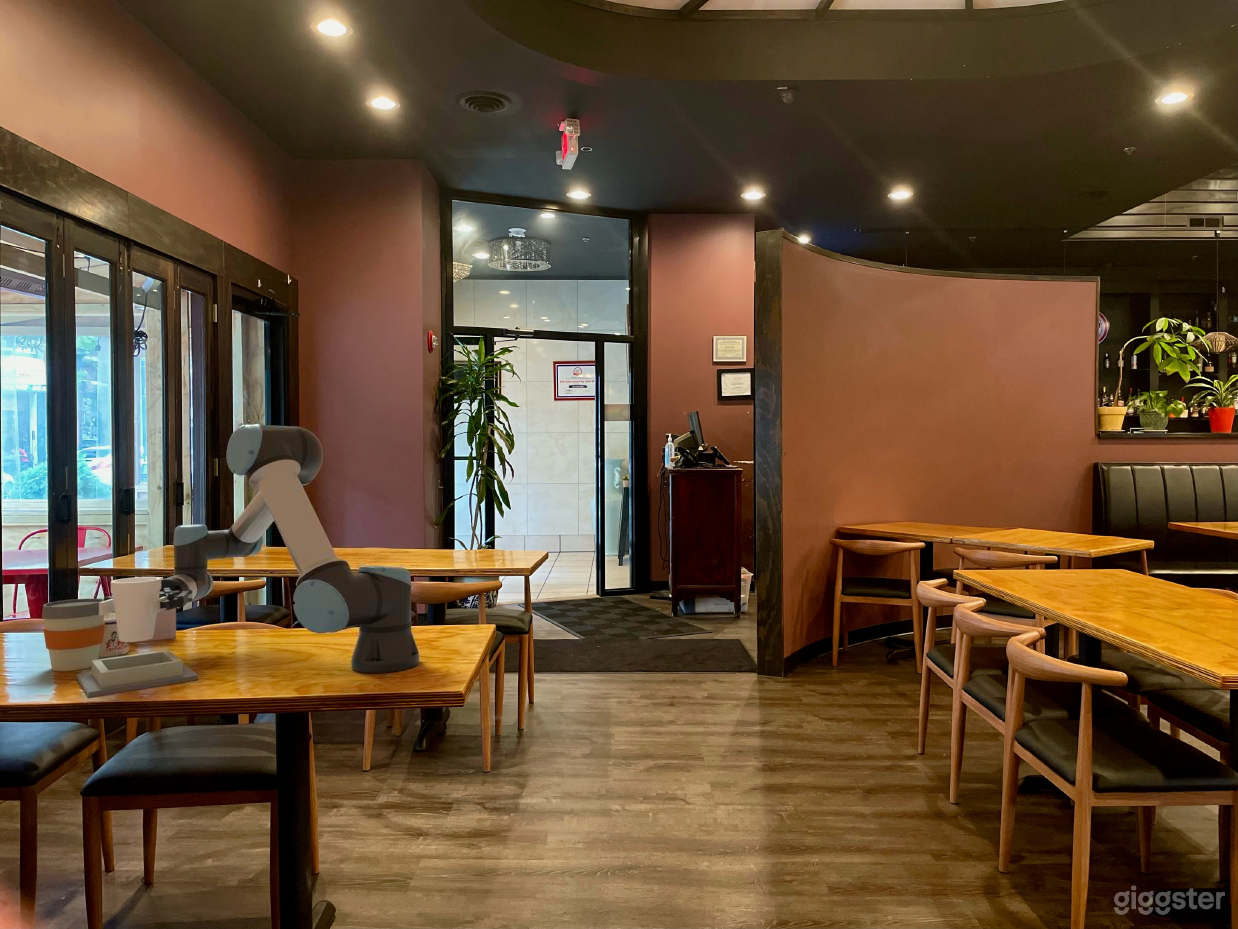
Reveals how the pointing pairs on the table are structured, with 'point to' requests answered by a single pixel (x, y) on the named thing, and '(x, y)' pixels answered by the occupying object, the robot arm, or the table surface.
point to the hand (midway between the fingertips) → (125, 608)
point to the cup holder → (134, 673)
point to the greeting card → (165, 625)
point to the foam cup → (135, 607)
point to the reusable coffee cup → (73, 633)
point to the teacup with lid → (112, 639)
